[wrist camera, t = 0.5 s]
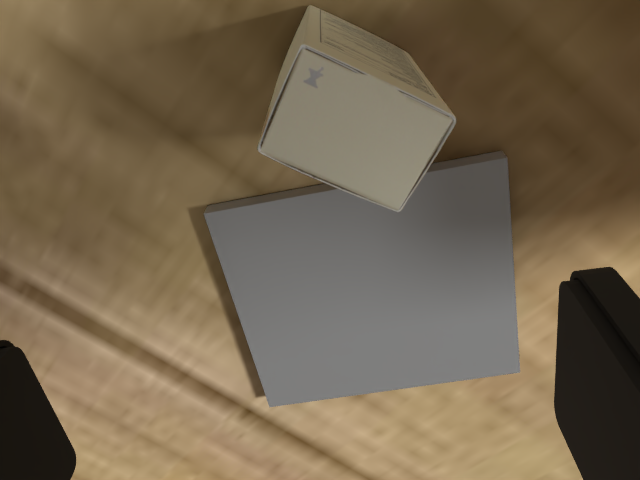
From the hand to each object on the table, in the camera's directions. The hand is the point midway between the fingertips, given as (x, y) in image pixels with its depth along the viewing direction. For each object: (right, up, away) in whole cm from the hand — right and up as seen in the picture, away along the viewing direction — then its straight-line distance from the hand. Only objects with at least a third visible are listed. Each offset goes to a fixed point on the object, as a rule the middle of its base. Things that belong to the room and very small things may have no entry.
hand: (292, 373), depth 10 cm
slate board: (+4, -1, +28) cm, 28 cm away
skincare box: (+2, +12, +21) cm, 24 cm away
